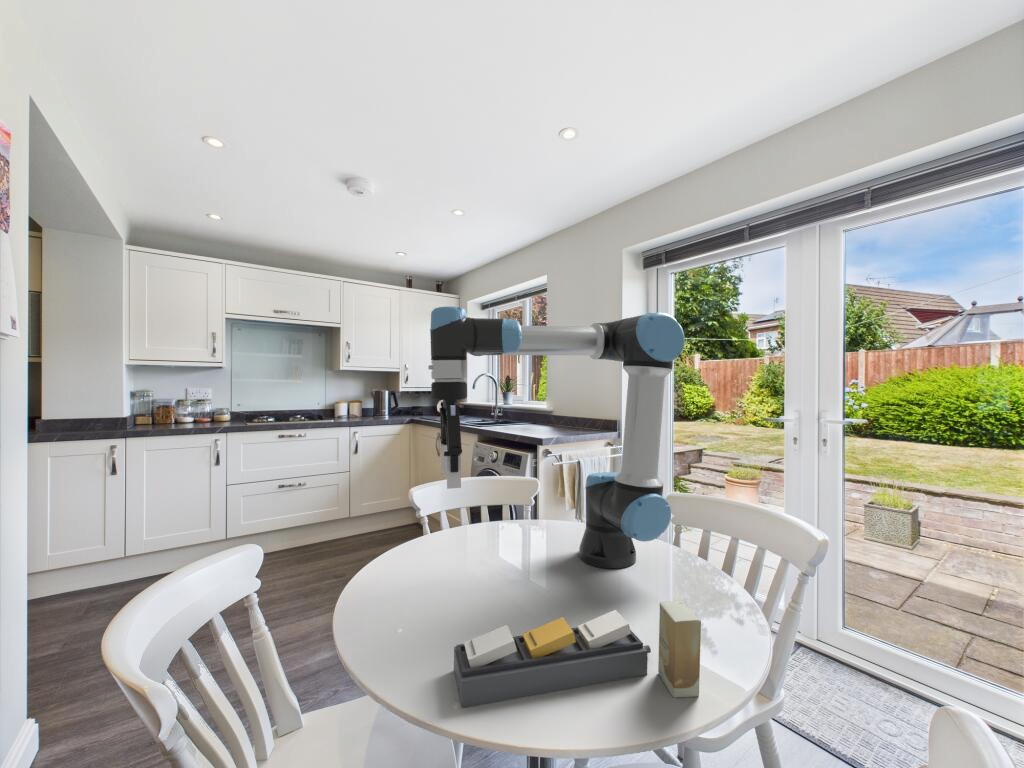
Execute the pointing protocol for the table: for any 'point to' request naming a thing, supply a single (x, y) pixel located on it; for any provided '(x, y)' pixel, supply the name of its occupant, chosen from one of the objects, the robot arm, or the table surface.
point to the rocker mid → (549, 638)
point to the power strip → (547, 669)
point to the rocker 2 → (604, 630)
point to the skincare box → (679, 649)
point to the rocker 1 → (490, 647)
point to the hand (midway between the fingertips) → (450, 480)
